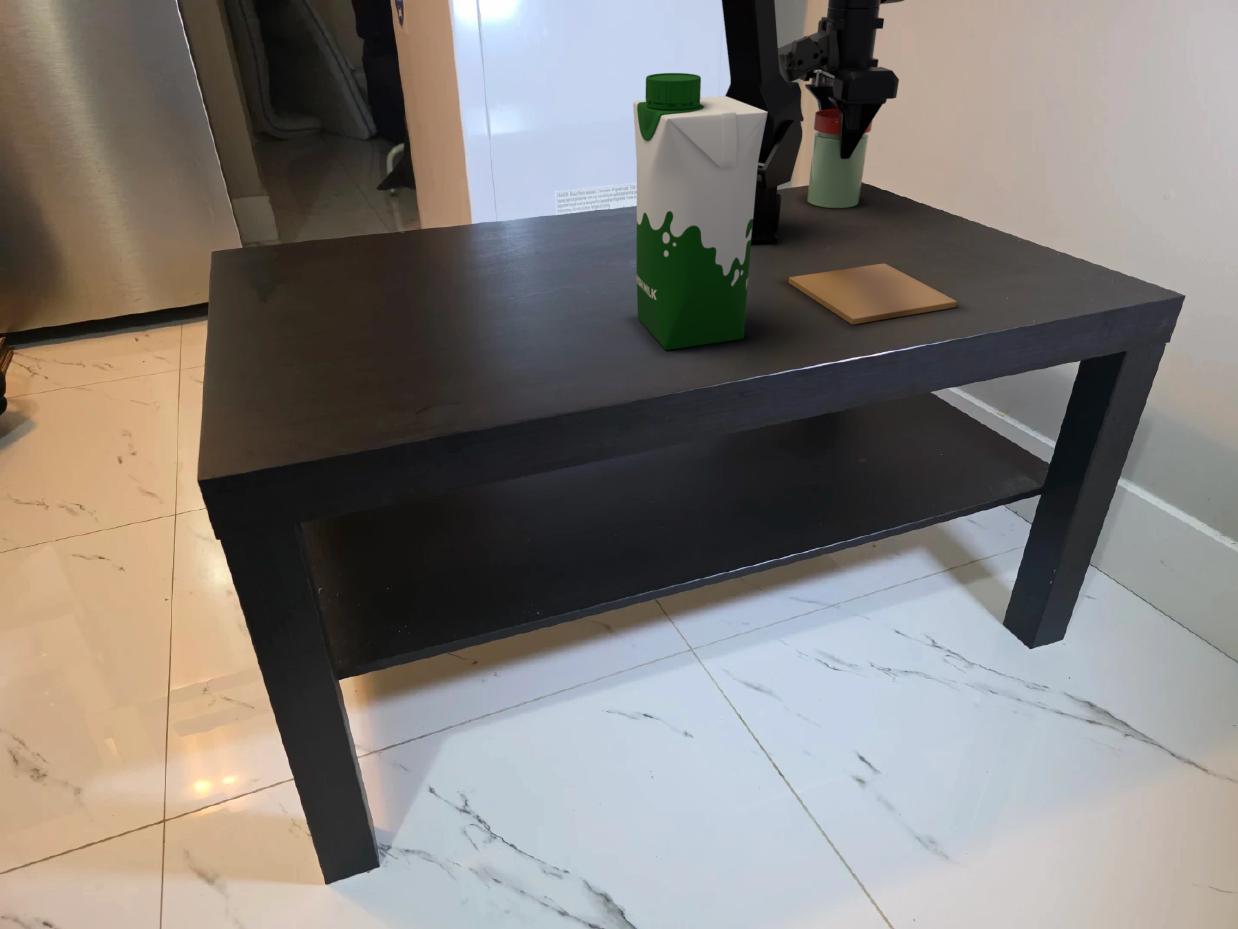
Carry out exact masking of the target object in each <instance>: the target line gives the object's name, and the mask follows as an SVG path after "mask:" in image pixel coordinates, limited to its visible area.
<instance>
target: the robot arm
mask: <svg viewBox="0 0 1238 929" xmlns="http://www.w3.org/2000/svg"><path fill="white" fill-rule="evenodd" d="M904 1H905V0H828V1H827V10H826V16H821V19H820V20H818V24H817V32H814V33H811V34H809V35H804V36H803V37H801V38H799V39H794V40H793V41H791V42H790V43H787V44H785V45H783V46H780V47H779V45H778V31H777V29H778V28H777V18H776V16H777V15H776V2H775V0H721V7H722V8H721V9H722V16H723V17H722V18H723V24H724V25H723V26H724V34H725V43H726V53H727V61H728V69H729V77H730V78H729V79H730V80H729V81H730V83H729V86H728V88H727V91H726V92H725V95H724V96H726V97H729V98H732V99H734V100H737V101H740V102H742V103H745V104H748V105H750V106H753V107H756V108H758V109H761V110H764V111H766V112H768V113H767V118H766V123H765V128H764V133H763V138H762V143H761V148H760V154H759V160H758V167H757V178H756V190H755V202H754V214H753V226H752V238H751V244H764V243H766V244H767V243H776V242H778V236H777V235H776V234H775V233H777V232H778V231H779V226H780V216H781V215H780V214H781V205H782V204H781V203H782V194H780V192H778V186H781V185H782V186H783V185H784V184H787V183H790V182H791V180H792V178H793V173H794V171H795V166H796V163H797V160H798V155H799V152H800V148H801V145H802V140H803V127H802V126H803V125H802V122H804V121H805V118H804V115H803V112H802V111H803V110H802V89H801V86H800V84H799V82H797V80H801V81H802V82H810V81H811V82H810V83H806V84H804V87H805V88H806V90H808V92H809V93H810V94H811V95H812V96H813V97H814V98H815V100H816V102H817V107H818V111H820V110H827V109H837V110H838V112H839V147H840V158H841V159H849V158H850V157H851V155H852V153H853V152H854V150H855V148H856V147H857V145H858V143H859V141H860V140H861V138H862V136H863V135H864V133H865V131H866V130H867V128H868V126H869V125H870V123H871V121H872V120H874V119H875V117H876V115H877V114H878V112H879V111H880V109H881V108H882V106H883V105H884V104H887V101H888V100H894V99H897V95H898V89H899V83H900V79H899V77H898V76H897V75H896V73H895V72H894V71H893V70H891V69H889V68H887V67H883V66H879V61H880V60H879V59H878V58H876V57H874V53H875V45H876V40H877V39H876V38H877V32H878V30H883V29H884V24H885V17H879V15H880V10H881V9H880V7H881V5H888V4H895V3H901V2H904ZM872 122H873V121H872ZM865 134H866V133H865ZM761 164H763V165H761Z"/></svg>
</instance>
